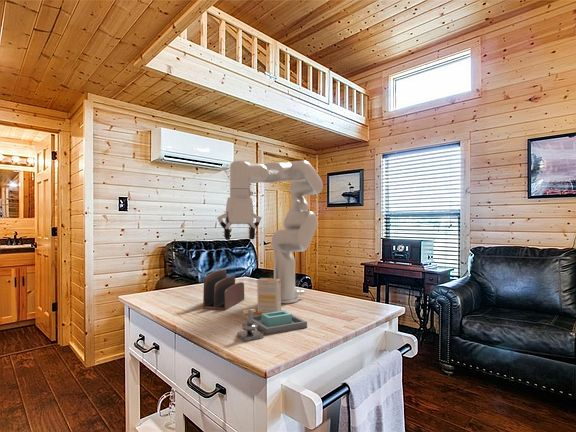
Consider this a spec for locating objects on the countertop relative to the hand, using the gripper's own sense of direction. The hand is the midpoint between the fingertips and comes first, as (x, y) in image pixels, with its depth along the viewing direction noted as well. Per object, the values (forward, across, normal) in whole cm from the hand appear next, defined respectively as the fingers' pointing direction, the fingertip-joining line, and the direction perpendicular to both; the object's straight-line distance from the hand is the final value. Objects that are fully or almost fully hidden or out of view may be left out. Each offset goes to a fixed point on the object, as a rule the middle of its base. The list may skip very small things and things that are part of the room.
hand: (239, 239), depth 125 cm
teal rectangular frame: (+28, -6, +18) cm, 33 cm away
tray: (+28, -6, +18) cm, 34 cm away
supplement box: (+29, -11, +3) cm, 31 cm away
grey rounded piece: (+28, +6, +24) cm, 38 cm away
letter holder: (+29, -1, -19) cm, 35 cm away
